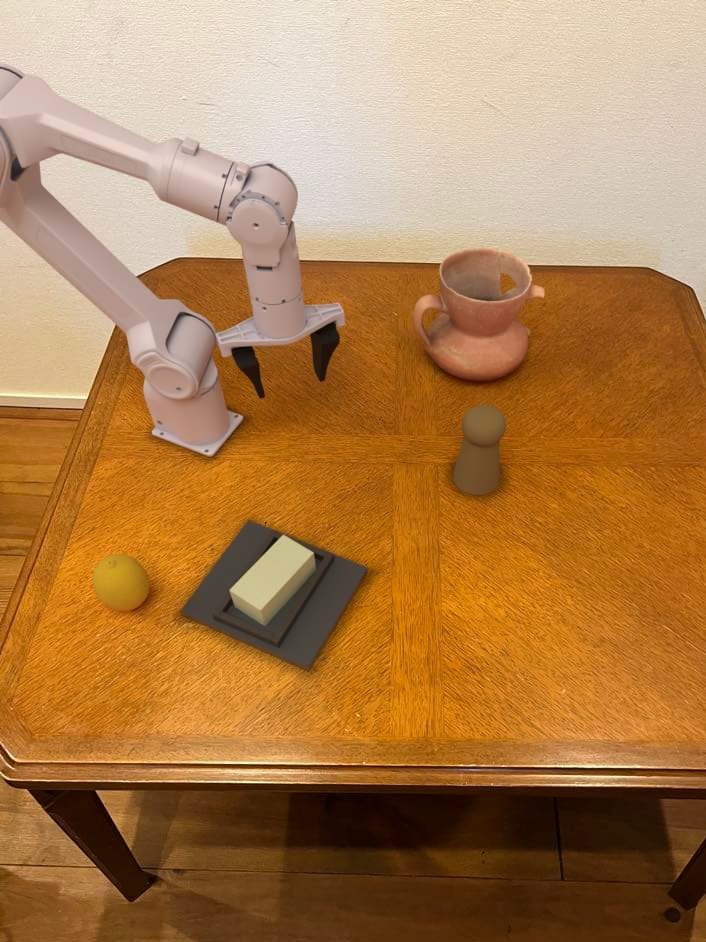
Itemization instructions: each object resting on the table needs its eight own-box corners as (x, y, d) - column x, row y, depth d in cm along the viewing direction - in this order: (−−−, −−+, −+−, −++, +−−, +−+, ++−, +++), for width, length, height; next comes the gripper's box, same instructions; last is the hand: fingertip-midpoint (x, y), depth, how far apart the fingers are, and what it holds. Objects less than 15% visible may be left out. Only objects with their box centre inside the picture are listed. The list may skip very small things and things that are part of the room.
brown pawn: (496, 498, 92) (508, 437, 83) (449, 490, 93) (455, 429, 84) (502, 463, 96) (514, 401, 87) (456, 456, 96) (463, 393, 87)
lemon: (110, 583, 84) (87, 542, 77) (159, 580, 84) (140, 539, 78) (102, 625, 81) (77, 586, 74) (154, 622, 81) (134, 583, 75)
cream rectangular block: (234, 606, 81) (228, 590, 78) (286, 552, 86) (283, 534, 83) (265, 626, 80) (260, 610, 77) (316, 569, 84) (314, 552, 81)
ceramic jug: (520, 322, 113) (535, 237, 101) (543, 387, 104) (563, 302, 93) (404, 331, 111) (405, 245, 99) (418, 397, 103) (421, 312, 91)
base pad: (182, 615, 82) (177, 605, 80) (249, 524, 89) (246, 513, 87) (308, 672, 78) (306, 662, 76) (367, 572, 85) (367, 561, 84)
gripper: (326, 253, 83) (334, 349, 94) (199, 283, 79) (223, 379, 90) (349, 288, 79) (354, 384, 90) (217, 321, 76) (239, 417, 87)
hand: (290, 384), depth 90 cm, fingers open, 7 cm apart
